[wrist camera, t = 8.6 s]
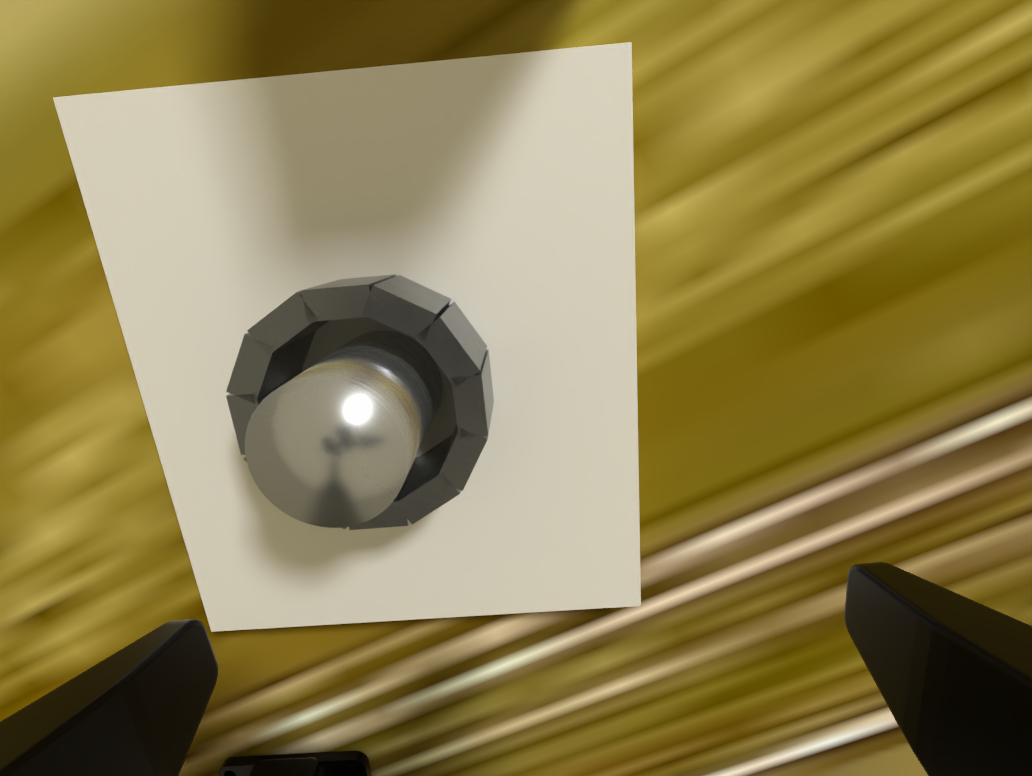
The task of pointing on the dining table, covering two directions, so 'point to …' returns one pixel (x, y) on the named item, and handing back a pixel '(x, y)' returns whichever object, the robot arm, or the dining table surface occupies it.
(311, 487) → the steel pin
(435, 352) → the gunmetal ring
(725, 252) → the dining table surface
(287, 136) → the base plate
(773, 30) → the dining table surface
